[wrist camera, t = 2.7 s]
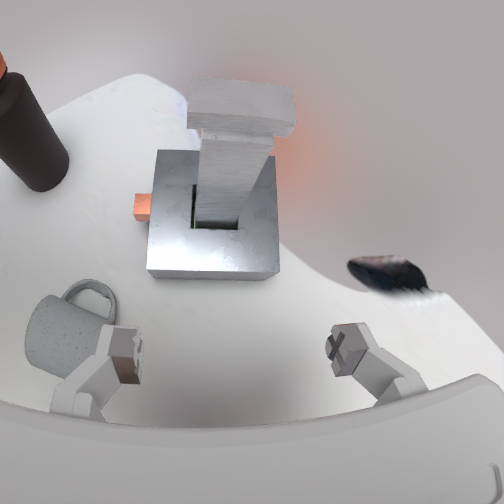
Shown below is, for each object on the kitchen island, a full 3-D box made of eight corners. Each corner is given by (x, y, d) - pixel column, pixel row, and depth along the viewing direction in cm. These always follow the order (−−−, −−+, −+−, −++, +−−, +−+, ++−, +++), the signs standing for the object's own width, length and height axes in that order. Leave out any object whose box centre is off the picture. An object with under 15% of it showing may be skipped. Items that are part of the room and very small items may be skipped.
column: (186, 241, 33) (185, 122, 13) (188, 209, 34) (193, 68, 13) (233, 242, 34) (297, 132, 14) (233, 211, 35) (291, 79, 14)
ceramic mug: (112, 385, 28) (92, 402, 21) (49, 360, 27) (16, 367, 20) (134, 293, 31) (118, 284, 24) (70, 272, 30) (41, 257, 22)
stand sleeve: (139, 277, 31) (128, 268, 25) (148, 175, 34) (142, 148, 28) (264, 280, 34) (280, 271, 28) (261, 180, 36) (275, 155, 30)
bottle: (62, 192, 31) (-18, 89, 12) (21, 192, 30) (-66, 105, 11) (75, 145, 33) (21, 30, 13) (34, 147, 31) (-30, 48, 12)
